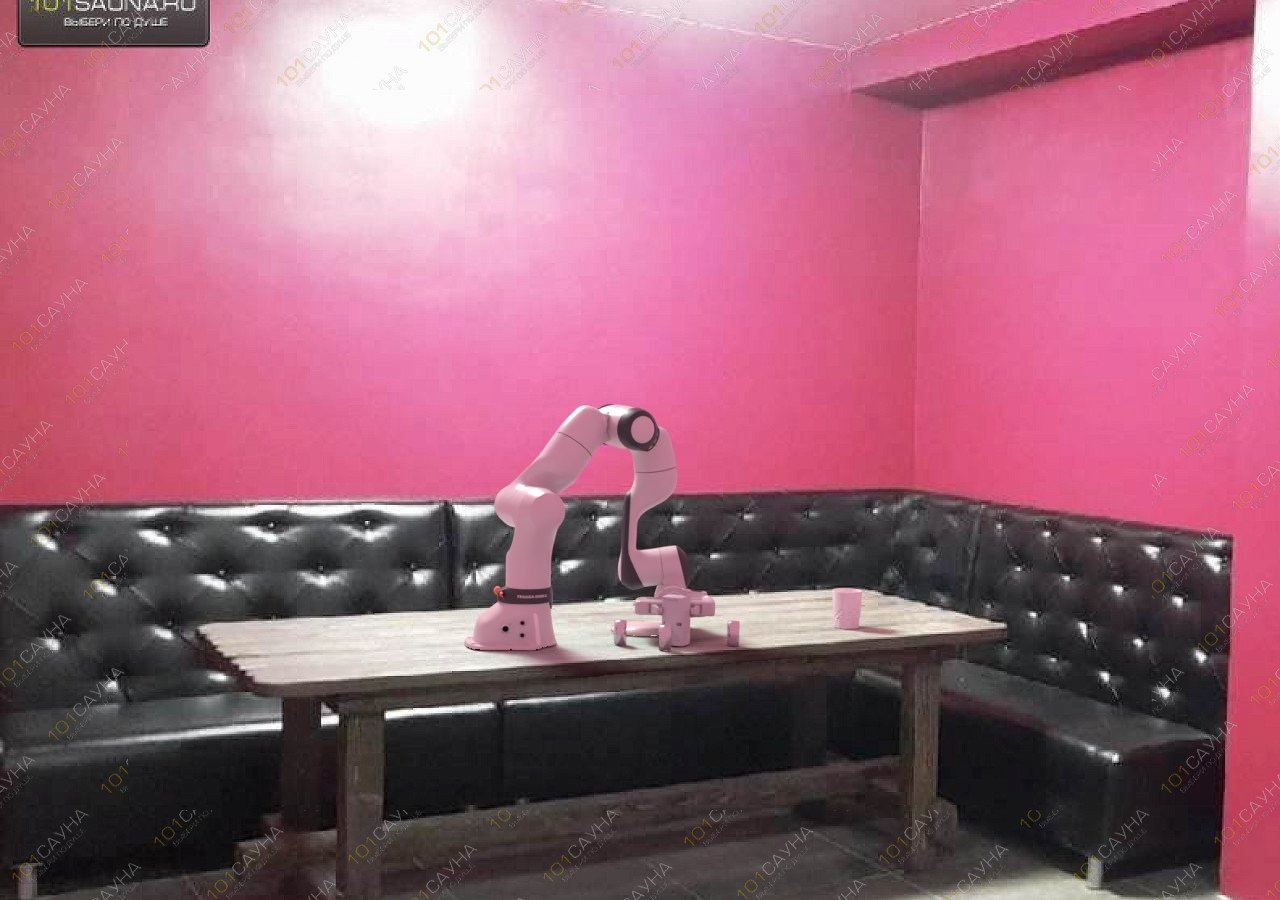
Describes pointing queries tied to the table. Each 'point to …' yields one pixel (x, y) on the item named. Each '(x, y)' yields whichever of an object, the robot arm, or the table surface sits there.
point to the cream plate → (641, 628)
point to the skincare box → (677, 617)
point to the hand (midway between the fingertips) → (676, 611)
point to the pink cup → (846, 607)
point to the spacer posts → (666, 634)
